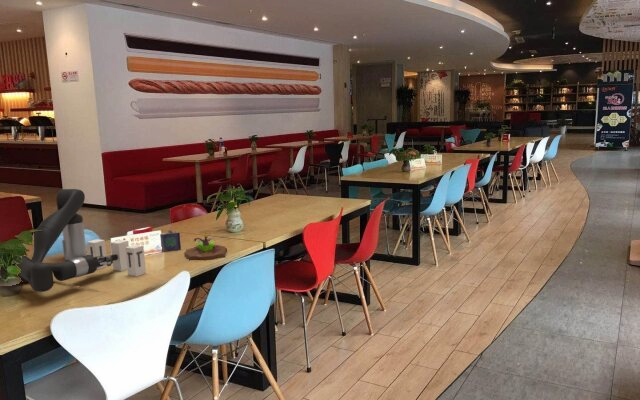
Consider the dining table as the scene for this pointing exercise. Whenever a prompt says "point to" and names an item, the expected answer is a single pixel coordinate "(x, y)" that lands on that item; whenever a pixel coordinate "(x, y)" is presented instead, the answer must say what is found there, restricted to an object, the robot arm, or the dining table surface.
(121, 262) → the plain block
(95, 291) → the dining table surface
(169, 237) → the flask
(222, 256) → the plant
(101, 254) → the block marked 1
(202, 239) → the tweezers
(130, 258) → the block marked 7
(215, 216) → the dining table surface
